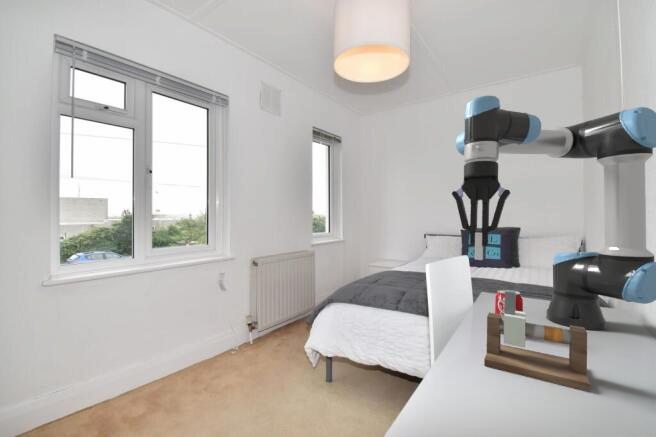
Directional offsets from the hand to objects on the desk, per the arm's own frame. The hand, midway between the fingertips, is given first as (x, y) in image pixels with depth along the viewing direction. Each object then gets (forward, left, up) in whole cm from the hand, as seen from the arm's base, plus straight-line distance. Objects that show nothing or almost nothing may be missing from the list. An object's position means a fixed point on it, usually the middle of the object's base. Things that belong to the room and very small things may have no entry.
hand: (478, 259), depth 75 cm
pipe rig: (-8, +8, -23) cm, 26 cm away
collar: (-6, +5, -18) cm, 20 cm away
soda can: (-19, -12, -23) cm, 33 cm away
